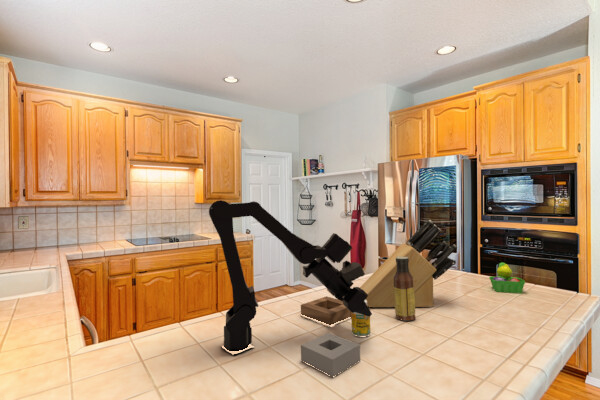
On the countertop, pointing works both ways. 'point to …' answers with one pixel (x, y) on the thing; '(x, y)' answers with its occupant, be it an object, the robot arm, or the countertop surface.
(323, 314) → the walnut sleeve block
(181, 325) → the countertop surface
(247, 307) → the robot arm
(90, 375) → the countertop surface
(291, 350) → the countertop surface
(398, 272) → the sauce bottle
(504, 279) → the fruit basket
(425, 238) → the knife block
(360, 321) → the supplement bottle
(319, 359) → the grey narrow collar
